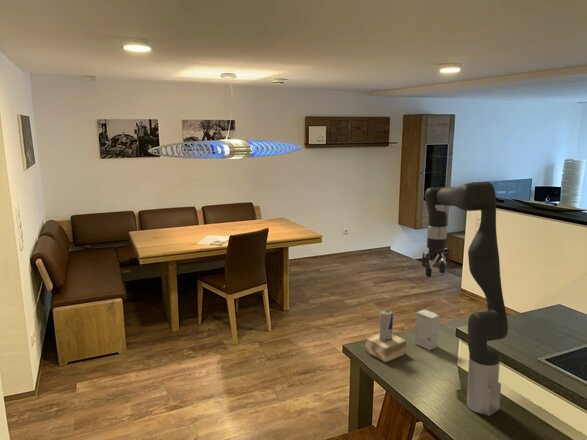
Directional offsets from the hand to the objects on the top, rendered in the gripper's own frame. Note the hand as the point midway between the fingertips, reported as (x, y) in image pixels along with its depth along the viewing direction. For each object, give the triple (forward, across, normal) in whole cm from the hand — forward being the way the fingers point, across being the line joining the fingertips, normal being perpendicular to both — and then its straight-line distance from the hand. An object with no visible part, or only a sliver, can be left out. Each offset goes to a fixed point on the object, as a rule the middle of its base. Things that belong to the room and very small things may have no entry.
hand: (435, 274), depth 182 cm
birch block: (+33, -18, +10) cm, 39 cm away
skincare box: (+33, +1, +4) cm, 34 cm away
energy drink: (+27, -18, +10) cm, 34 cm away
